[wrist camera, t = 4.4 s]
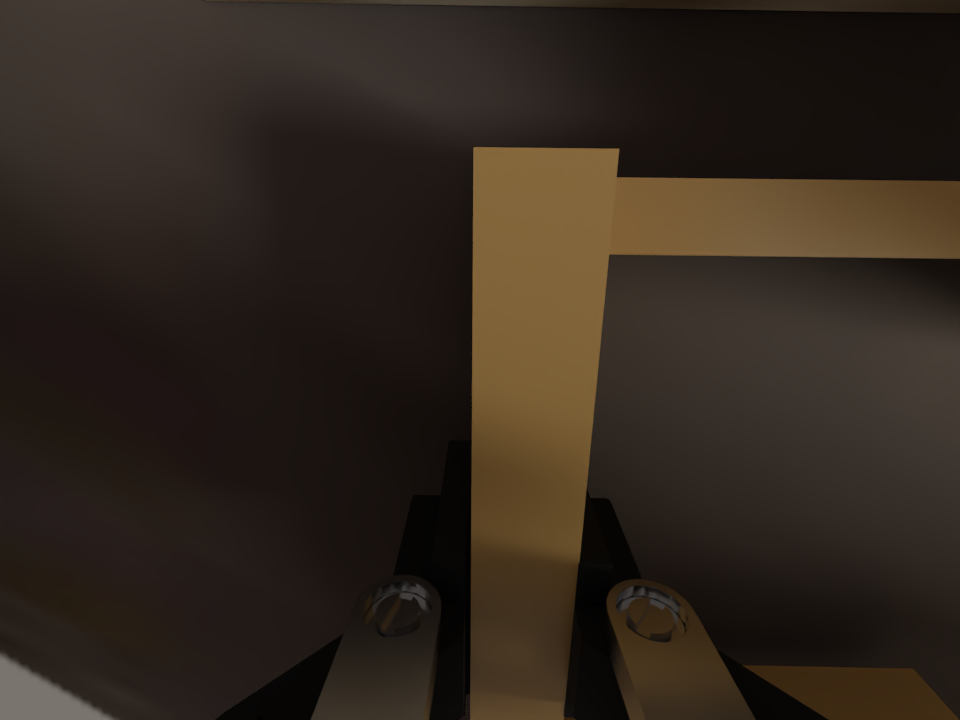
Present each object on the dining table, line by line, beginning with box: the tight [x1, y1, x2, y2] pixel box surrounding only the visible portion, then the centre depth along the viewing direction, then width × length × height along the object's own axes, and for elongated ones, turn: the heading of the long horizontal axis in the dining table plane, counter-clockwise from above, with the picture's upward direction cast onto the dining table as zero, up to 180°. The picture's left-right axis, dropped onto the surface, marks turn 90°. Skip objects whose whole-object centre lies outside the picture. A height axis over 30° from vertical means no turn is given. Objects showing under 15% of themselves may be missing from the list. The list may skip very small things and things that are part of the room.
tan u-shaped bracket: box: [470, 147, 960, 720], centre depth 10 cm, size 12×14×4 cm
